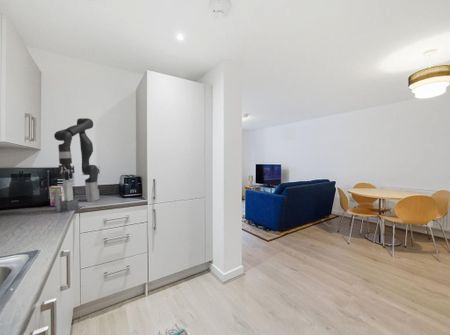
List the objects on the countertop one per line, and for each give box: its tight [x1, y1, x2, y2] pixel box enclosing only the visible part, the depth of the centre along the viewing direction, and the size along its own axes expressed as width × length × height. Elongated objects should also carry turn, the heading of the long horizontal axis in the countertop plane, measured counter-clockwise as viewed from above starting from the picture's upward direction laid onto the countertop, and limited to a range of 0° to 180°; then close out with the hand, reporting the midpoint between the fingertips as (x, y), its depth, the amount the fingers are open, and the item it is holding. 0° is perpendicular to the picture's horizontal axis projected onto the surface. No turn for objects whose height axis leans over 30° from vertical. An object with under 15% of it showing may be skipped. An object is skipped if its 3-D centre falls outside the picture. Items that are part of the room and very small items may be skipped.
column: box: [61, 179, 74, 201], centre depth 152 cm, size 5×4×16 cm
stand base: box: [53, 198, 86, 214], centre depth 153 cm, size 14×14×7 cm
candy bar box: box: [48, 185, 64, 207], centre depth 164 cm, size 11×5×16 cm, turn 84°
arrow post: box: [54, 191, 62, 214], centre depth 146 cm, size 4×2×16 cm, turn 160°
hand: (67, 178), depth 151 cm, fingers open, 8 cm apart
